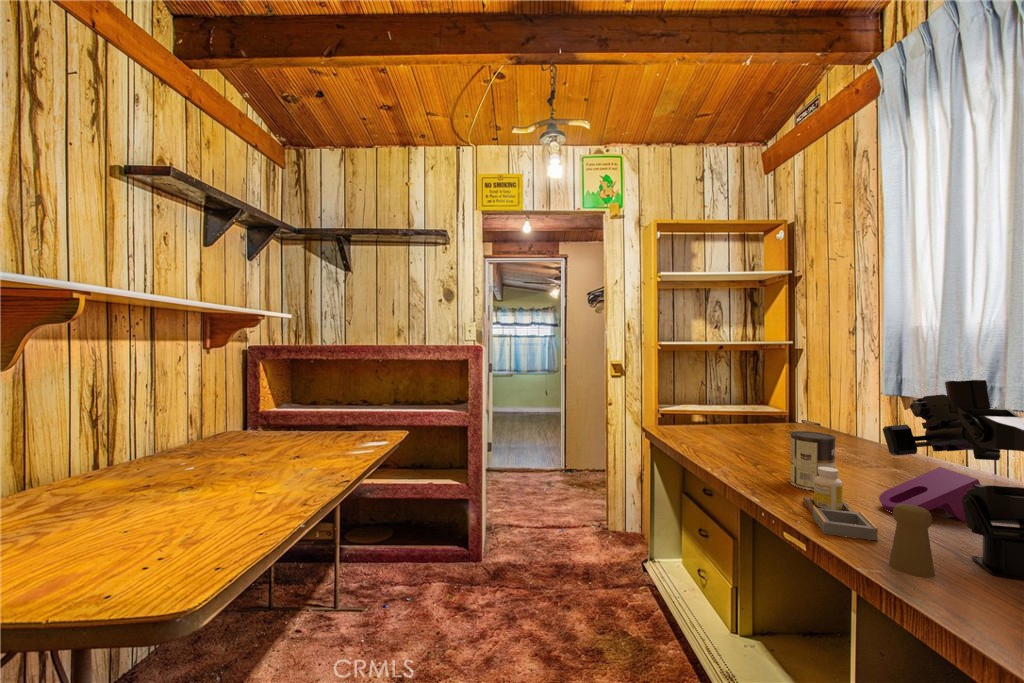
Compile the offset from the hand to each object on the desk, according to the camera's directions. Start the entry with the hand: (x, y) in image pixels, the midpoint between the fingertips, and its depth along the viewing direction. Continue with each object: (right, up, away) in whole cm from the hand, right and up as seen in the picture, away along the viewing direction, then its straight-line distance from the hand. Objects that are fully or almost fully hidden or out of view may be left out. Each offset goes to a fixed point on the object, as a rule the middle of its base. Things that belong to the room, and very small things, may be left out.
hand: (914, 438), depth 103 cm
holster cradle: (-18, -18, +3) cm, 25 cm away
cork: (-22, -18, -24) cm, 37 cm away
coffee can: (-10, -18, +20) cm, 28 cm away
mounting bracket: (+4, -18, +1) cm, 19 cm away
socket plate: (-22, -18, -8) cm, 29 cm away
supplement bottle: (-18, -18, +3) cm, 25 cm away
